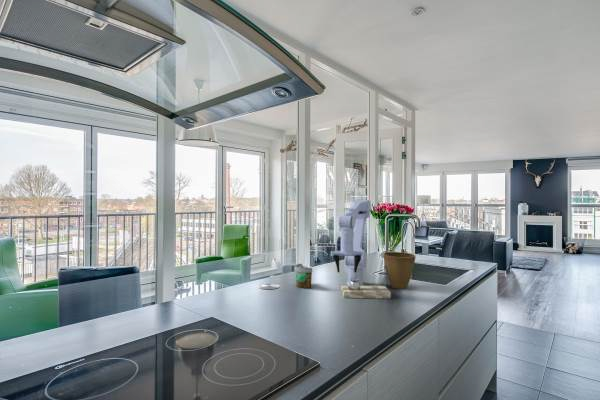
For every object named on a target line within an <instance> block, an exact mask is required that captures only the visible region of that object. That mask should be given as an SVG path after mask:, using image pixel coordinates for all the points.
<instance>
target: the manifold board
mask: <svg viewBox="0 0 600 400" xmlns="http://www.w3.org/2000/svg"><path fill="white" fill-rule="evenodd" d="M341 294H342V296H343V298H344V299H391V298H392V292H391V291H390V290H389V289H388V288H387V287H386V286H385V285H364V286H359V290H350V285H347V284H346V285H345V284H344V285H341Z"/></svg>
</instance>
